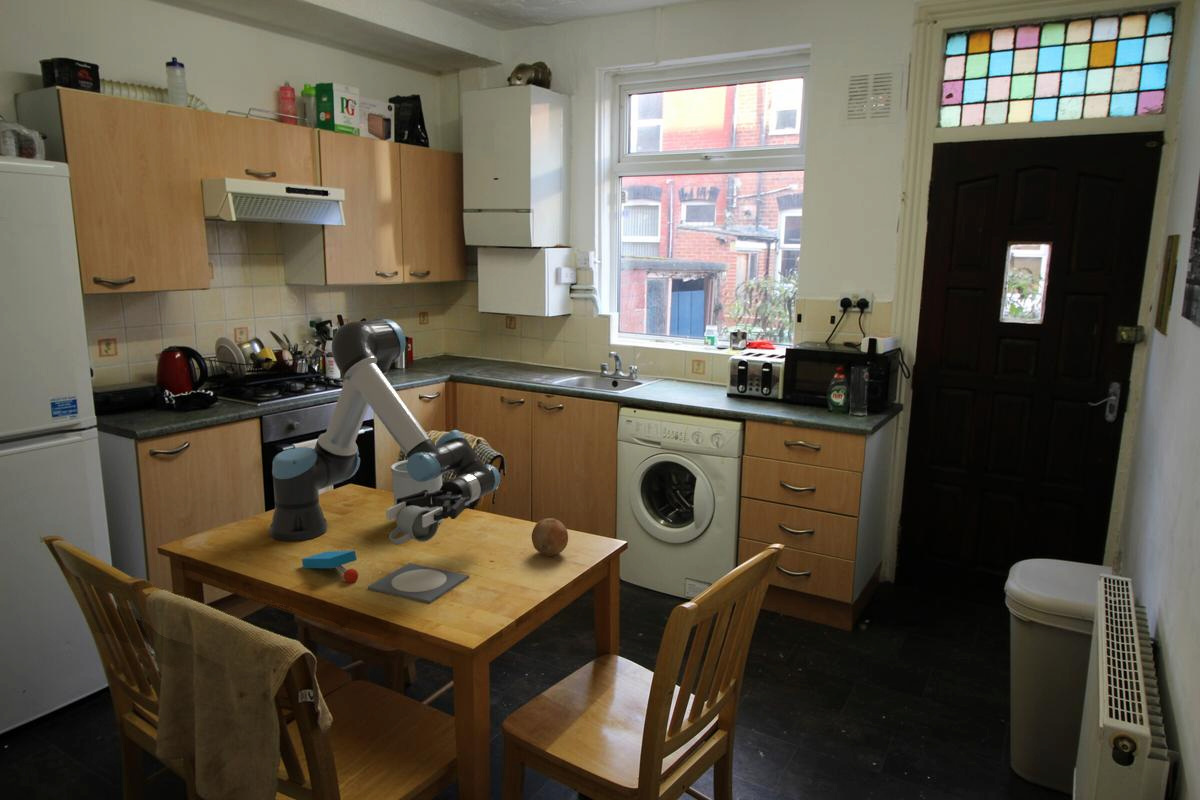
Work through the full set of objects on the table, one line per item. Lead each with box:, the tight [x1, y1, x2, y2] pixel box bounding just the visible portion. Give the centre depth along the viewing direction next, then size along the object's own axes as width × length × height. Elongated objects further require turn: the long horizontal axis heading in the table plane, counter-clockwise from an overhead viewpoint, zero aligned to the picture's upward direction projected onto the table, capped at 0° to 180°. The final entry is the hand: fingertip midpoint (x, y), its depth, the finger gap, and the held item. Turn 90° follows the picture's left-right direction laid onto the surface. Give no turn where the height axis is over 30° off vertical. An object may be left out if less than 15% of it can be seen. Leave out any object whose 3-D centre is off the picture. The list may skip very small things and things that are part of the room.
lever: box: [301, 550, 359, 584], centre depth 195 cm, size 7×7×18 cm
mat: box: [367, 562, 470, 604], centre depth 190 cm, size 18×16×1 cm
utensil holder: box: [390, 459, 444, 525], centre depth 231 cm, size 15×15×18 cm
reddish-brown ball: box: [531, 517, 569, 557], centre depth 208 cm, size 10×10×10 cm
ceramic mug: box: [388, 506, 440, 545], centre depth 186 cm, size 11×8×8 cm
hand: (405, 518), depth 183 cm, fingers closed on ceramic mug, 10 cm apart
